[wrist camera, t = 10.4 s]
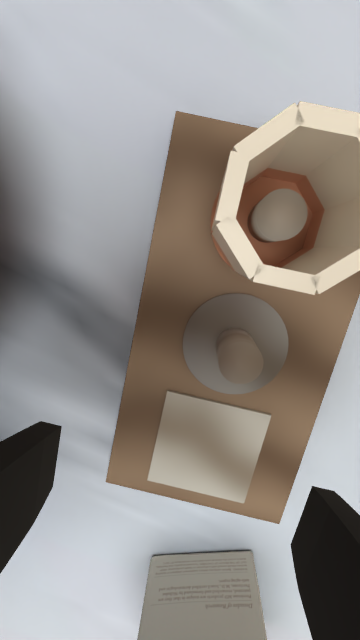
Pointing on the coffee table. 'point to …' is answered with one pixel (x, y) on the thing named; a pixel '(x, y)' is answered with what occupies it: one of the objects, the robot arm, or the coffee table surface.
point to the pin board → (182, 293)
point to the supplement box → (202, 598)
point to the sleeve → (315, 186)
